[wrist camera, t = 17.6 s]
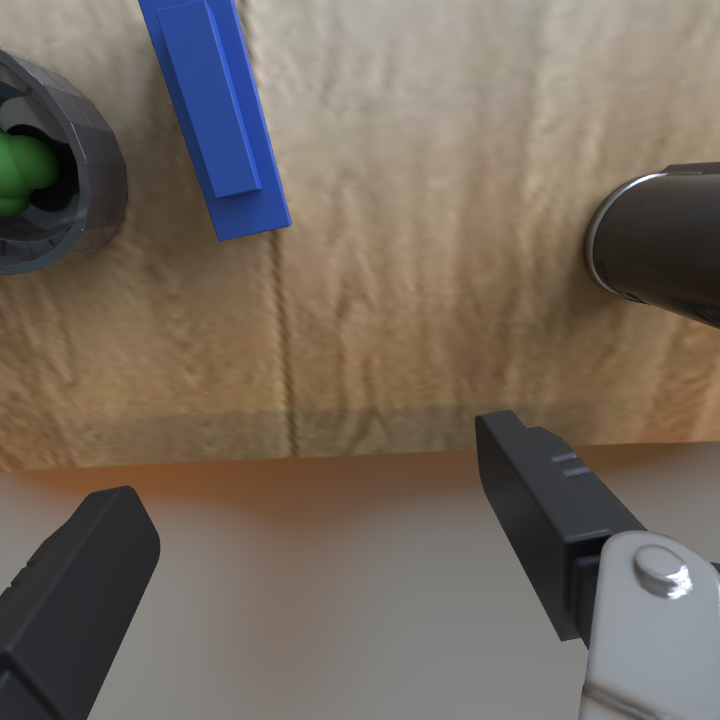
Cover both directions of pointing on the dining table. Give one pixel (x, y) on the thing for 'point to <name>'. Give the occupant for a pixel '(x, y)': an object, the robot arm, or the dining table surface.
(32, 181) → the broccoli floret
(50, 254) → the bowl
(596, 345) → the dining table surface
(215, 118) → the brush
